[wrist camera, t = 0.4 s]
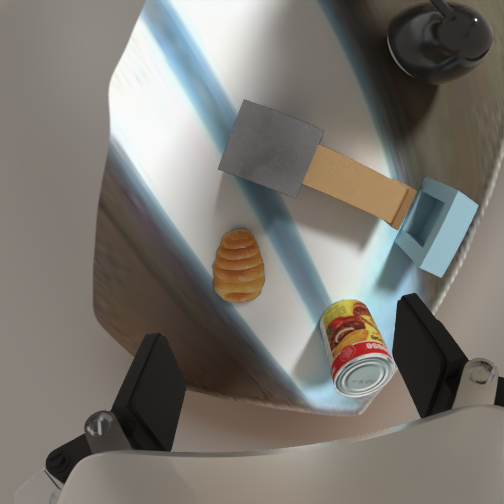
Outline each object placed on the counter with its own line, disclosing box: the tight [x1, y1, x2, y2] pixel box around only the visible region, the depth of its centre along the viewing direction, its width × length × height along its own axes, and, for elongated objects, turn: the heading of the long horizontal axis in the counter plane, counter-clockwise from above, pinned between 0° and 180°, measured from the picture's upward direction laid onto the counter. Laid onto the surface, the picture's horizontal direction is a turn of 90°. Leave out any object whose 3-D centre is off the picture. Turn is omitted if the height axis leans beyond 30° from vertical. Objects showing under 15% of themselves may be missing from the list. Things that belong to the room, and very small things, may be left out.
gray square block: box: [218, 100, 324, 198], centre depth 30 cm, size 7×8×7 cm
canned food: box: [320, 299, 395, 397], centre depth 38 cm, size 8×8×12 cm
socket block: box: [394, 177, 478, 277], centre depth 33 cm, size 10×4×8 cm, turn 159°
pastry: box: [212, 229, 265, 303], centre depth 38 cm, size 9×7×4 cm
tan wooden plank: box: [302, 145, 417, 230], centre depth 31 cm, size 5×20×5 cm, turn 70°
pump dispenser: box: [387, 0, 493, 85], centre depth 20 cm, size 10×10×15 cm
